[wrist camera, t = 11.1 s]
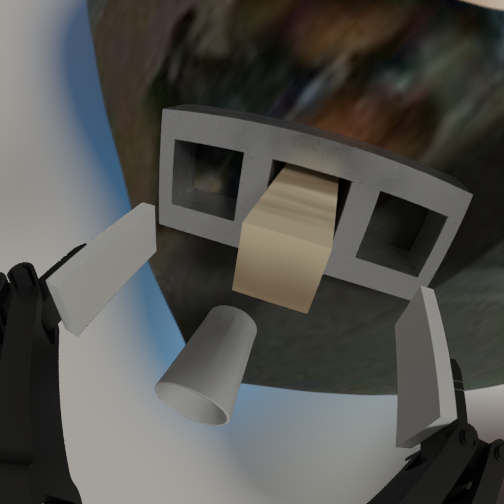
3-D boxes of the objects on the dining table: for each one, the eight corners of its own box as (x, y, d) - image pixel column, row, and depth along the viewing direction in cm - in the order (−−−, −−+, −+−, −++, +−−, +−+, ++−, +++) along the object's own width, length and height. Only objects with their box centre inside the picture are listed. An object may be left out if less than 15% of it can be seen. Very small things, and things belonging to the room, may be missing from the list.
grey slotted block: (188, 104, 22) (162, 108, 19) (455, 177, 19) (473, 194, 15) (181, 205, 28) (159, 223, 25) (411, 274, 24) (417, 302, 21)
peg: (290, 158, 22) (242, 222, 13) (339, 172, 22) (332, 248, 12) (281, 202, 25) (232, 289, 15) (326, 215, 24) (307, 313, 14)
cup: (270, 314, 32) (234, 406, 22) (256, 354, 36) (225, 433, 27) (203, 290, 33) (151, 370, 23) (200, 333, 38) (158, 404, 28)
